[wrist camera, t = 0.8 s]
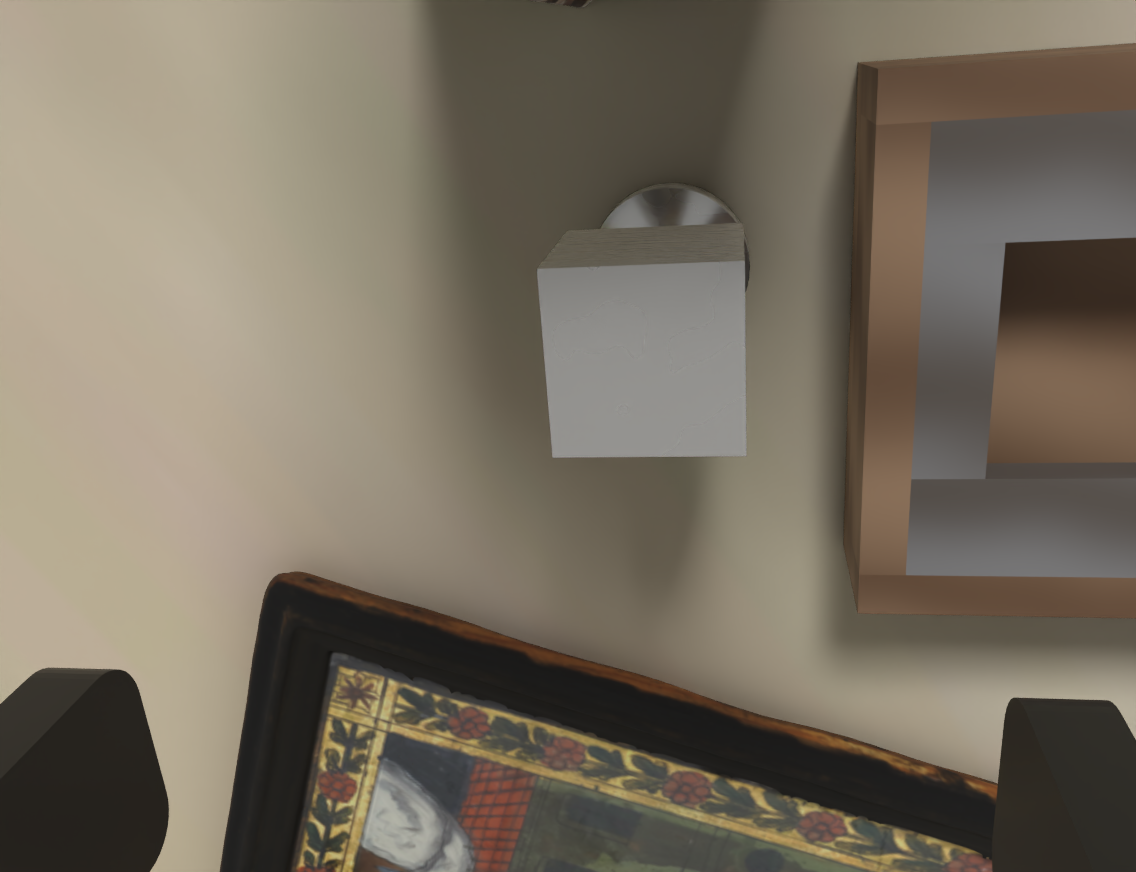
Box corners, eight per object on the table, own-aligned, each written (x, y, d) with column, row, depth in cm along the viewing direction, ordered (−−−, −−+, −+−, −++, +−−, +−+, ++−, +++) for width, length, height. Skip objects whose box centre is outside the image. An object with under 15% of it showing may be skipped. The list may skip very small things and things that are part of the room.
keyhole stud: (589, 186, 29) (525, 259, 20) (748, 179, 28) (755, 250, 19) (598, 338, 30) (543, 466, 21) (749, 333, 29) (756, 465, 21)
